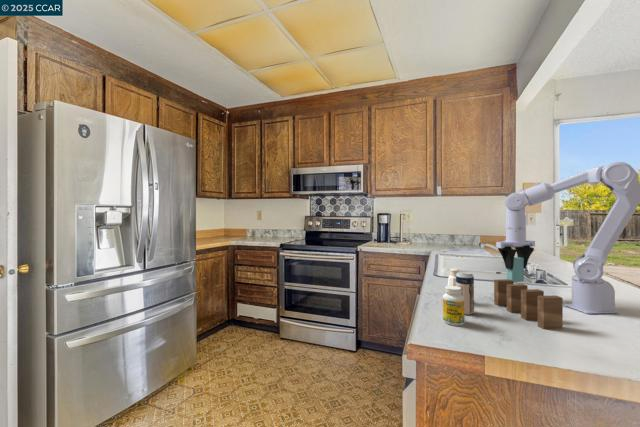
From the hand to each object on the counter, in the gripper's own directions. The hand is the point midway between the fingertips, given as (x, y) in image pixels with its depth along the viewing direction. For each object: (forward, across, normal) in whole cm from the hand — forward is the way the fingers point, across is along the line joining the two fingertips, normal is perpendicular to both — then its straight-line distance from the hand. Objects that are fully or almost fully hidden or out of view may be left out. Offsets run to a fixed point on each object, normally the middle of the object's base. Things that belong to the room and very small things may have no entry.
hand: (515, 268), depth 100 cm
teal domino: (+4, 0, 0) cm, 5 cm away
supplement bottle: (+11, +35, +12) cm, 38 cm away
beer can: (+11, +26, +7) cm, 29 cm away
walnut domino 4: (+10, +13, +22) cm, 28 cm away
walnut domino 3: (+10, +12, +16) cm, 23 cm away
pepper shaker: (+11, +22, -3) cm, 25 cm away
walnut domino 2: (+10, +11, +10) cm, 18 cm away
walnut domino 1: (+10, +10, +4) cm, 15 cm away
